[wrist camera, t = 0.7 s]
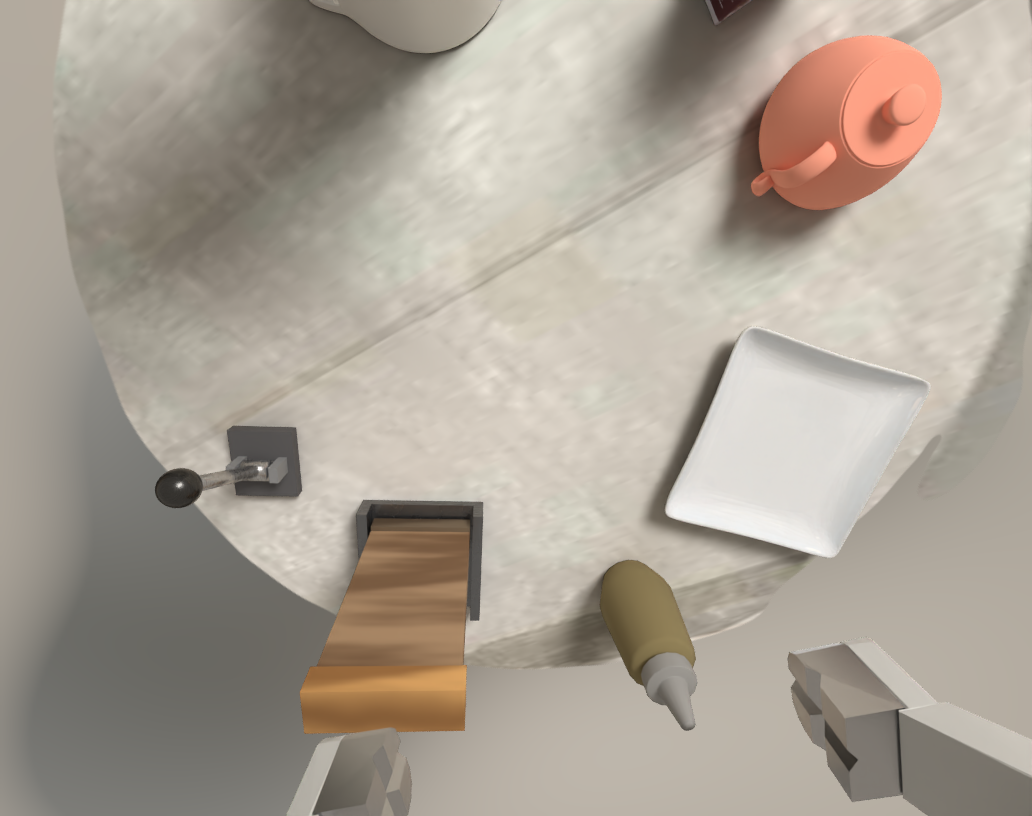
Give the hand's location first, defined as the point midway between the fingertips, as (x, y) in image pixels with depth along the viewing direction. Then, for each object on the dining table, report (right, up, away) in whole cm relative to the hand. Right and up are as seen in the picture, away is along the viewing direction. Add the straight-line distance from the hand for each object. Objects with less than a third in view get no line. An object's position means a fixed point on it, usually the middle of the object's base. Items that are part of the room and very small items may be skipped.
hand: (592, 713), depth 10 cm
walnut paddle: (-11, -7, +42) cm, 44 cm away
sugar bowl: (+24, +30, +33) cm, 50 cm away
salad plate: (+26, +3, +42) cm, 50 cm away
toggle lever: (-26, 0, +37) cm, 45 cm away
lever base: (-27, +1, +39) cm, 47 cm away
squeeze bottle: (+11, -14, +47) cm, 50 cm away
